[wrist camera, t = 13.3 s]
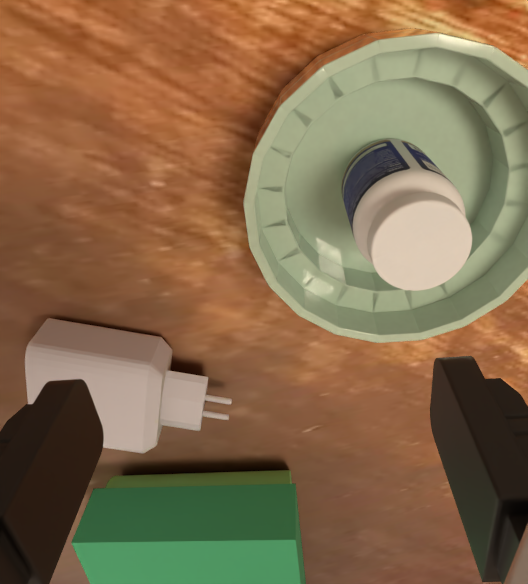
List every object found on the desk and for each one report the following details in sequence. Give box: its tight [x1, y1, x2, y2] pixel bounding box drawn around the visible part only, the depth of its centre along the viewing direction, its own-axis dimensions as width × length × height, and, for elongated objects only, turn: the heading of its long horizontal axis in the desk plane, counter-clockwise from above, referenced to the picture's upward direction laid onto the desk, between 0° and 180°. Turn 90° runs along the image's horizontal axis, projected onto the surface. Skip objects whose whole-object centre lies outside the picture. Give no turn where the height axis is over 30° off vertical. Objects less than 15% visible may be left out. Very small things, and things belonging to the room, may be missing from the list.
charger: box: [25, 318, 232, 453], centre depth 39 cm, size 5×9×15 cm
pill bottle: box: [341, 139, 472, 291], centre depth 27 cm, size 6×6×10 cm
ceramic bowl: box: [243, 28, 528, 343], centre depth 30 cm, size 17×17×6 cm
